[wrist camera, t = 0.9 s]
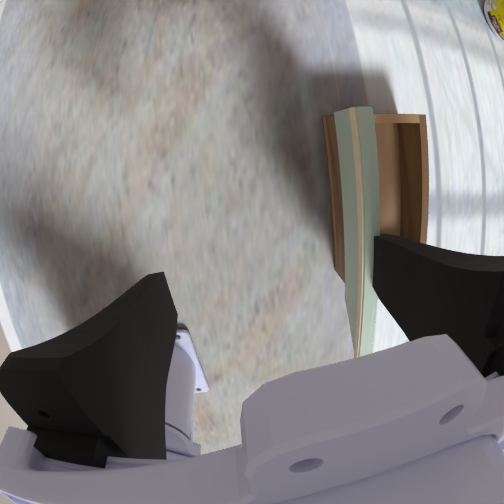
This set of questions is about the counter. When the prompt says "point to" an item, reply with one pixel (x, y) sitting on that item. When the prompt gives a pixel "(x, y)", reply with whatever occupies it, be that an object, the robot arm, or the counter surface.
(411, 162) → the box
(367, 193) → the lid
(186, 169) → the counter surface
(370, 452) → the robot arm
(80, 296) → the counter surface
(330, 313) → the counter surface
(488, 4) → the supplement bottle
